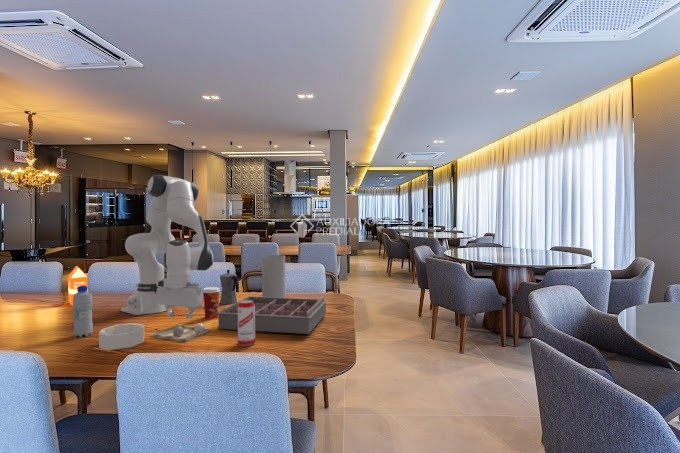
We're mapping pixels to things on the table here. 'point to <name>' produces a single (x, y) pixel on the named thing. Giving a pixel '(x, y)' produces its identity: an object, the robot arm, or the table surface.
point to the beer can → (246, 322)
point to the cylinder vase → (273, 276)
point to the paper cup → (211, 302)
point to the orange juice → (76, 282)
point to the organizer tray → (278, 314)
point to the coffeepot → (228, 288)
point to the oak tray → (185, 337)
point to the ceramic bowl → (121, 336)
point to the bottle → (82, 312)
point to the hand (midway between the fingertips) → (180, 317)
